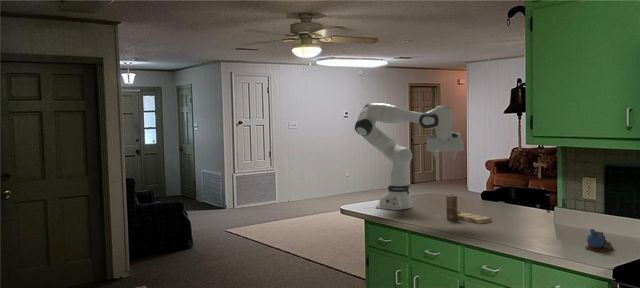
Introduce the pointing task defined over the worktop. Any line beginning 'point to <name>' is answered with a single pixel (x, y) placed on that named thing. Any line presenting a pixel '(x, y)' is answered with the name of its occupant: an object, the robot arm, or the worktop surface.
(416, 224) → the worktop surface
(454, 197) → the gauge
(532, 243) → the worktop surface
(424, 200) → the worktop surface
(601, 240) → the model
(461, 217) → the board
